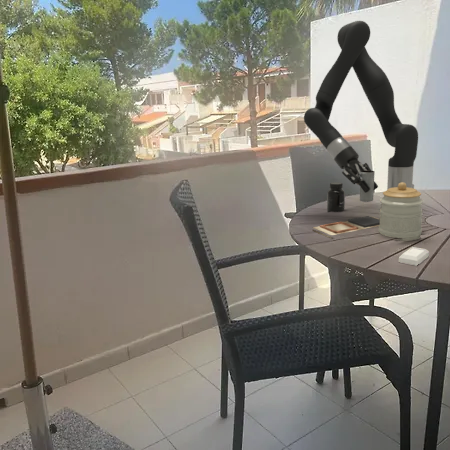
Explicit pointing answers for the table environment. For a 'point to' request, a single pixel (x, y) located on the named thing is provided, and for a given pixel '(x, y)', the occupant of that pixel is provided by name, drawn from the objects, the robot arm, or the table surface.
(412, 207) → the jar
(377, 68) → the robot arm
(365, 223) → the pad
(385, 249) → the table surface
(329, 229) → the board
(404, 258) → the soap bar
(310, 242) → the table surface
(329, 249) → the table surface
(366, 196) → the grey tumbler
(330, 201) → the supplement bottle
